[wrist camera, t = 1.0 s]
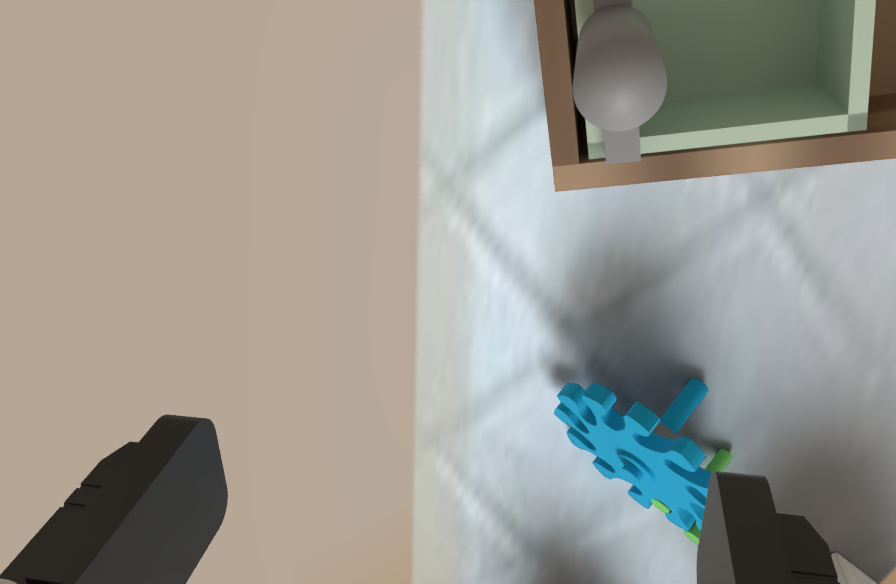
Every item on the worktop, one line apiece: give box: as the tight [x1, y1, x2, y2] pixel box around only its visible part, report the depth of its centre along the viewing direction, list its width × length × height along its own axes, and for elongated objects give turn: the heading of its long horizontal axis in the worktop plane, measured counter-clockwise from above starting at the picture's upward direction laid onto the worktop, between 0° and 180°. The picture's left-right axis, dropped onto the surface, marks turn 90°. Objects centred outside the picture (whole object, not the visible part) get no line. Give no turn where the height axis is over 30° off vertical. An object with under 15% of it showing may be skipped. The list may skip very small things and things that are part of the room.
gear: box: [554, 378, 733, 545], centre depth 38 cm, size 11×6×10 cm
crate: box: [573, 0, 876, 165], centre depth 25 cm, size 9×8×12 cm
